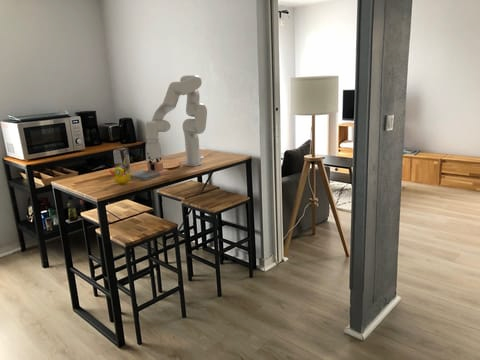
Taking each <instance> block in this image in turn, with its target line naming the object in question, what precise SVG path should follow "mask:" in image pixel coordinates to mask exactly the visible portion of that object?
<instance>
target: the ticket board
mask: <svg viewBox="0 0 480 360" xmlns="http://www.w3.org/2000/svg"><path fill="white" fill-rule="evenodd" d="M143 170H144V169H141V170H138V171H134V172H131V173H130V172H129V174H130V179H132V180H138V181H139V180H140V181H144V182H146V181H149V180H151V179H152V180H153V179H155V178H158V177H160V176H159V173H155V172H149V171H143Z"/></svg>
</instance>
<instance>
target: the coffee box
mask: <svg viewBox="0 0 480 360" xmlns="http://www.w3.org/2000/svg"><path fill="white" fill-rule="evenodd" d="M112 151H113V153H112V154H113V161H114V162H113V163H114V169H115V168H117V167H120V168H122V169H124V173H123V175H122V176H124V175H126V173H130V172H131V163H130V154H129V147H118V148H115V149H114V150H112Z"/></svg>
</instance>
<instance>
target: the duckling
mask: <svg viewBox="0 0 480 360" xmlns="http://www.w3.org/2000/svg"><path fill="white" fill-rule="evenodd" d="M109 173H110V174H111V175H115V176H114V178H113V180H114V182H115V183H116V184H118V185H125V184H127V183H129V182H130V180H131V178H130V172H128V173H126V174H124V175H125V176H124V175H123V173H124V169H122V168H120V167H117V168H115V167H114V169H113V170H112V169H109Z"/></svg>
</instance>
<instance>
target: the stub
mask: <svg viewBox="0 0 480 360" xmlns="http://www.w3.org/2000/svg"><path fill="white" fill-rule="evenodd" d="M146 163H147V164H146V165H147V168H145V169H142V170H143V171H149V172H155V173H159V177H161V176H165V175H167V174H170V170H169V169H165V168H164V164H163V162H161V161H160V162H156V160H155V161H154V166H155V170H151V168H150V164H149V162H147V161H146Z"/></svg>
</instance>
